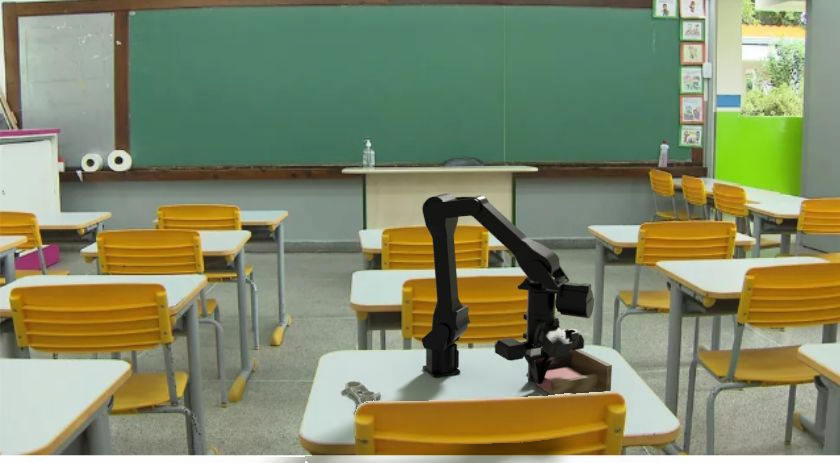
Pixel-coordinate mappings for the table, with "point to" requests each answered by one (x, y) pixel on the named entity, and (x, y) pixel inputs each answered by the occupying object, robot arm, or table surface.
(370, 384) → the table surface
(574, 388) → the shelf
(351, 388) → the bracket
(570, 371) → the block
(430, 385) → the table surface
